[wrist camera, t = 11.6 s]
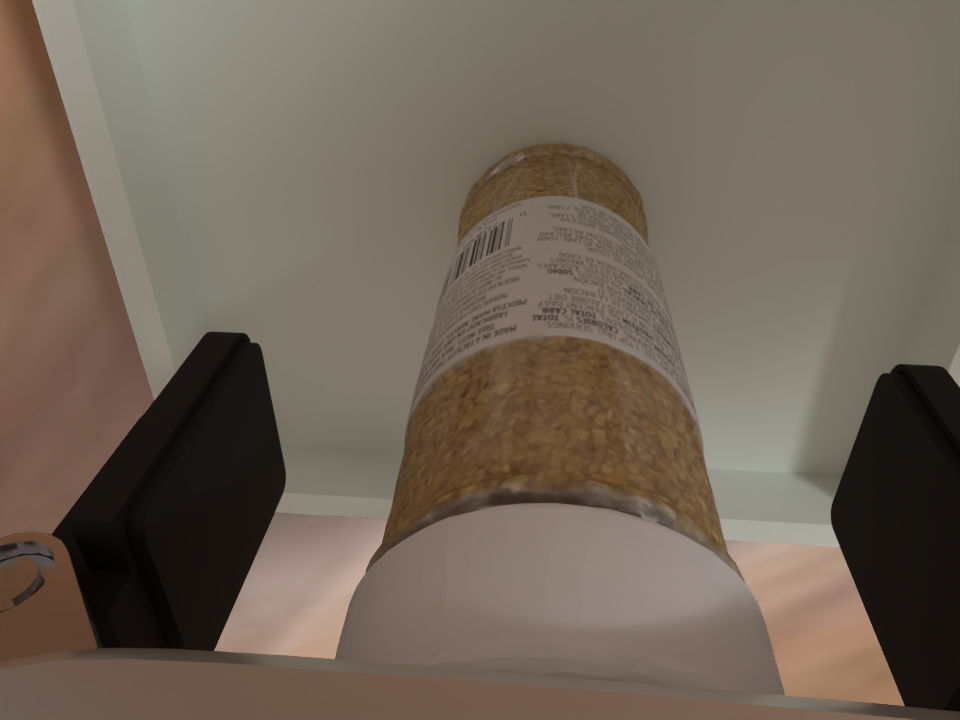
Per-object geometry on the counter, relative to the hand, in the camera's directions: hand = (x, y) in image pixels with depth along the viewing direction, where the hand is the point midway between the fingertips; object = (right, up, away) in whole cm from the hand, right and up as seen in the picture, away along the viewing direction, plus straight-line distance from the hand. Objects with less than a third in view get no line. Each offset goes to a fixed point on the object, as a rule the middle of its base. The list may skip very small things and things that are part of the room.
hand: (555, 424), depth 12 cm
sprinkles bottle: (+1, +4, +6) cm, 8 cm away
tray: (+1, +5, +7) cm, 9 cm away
